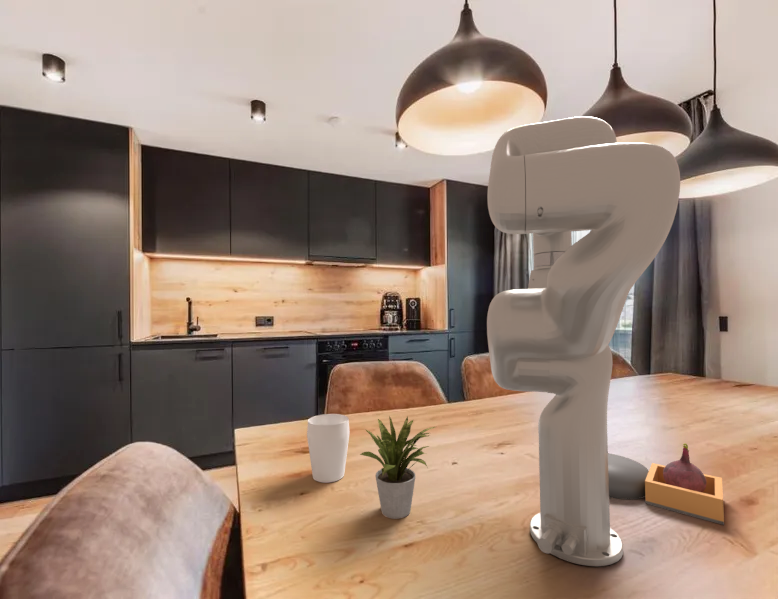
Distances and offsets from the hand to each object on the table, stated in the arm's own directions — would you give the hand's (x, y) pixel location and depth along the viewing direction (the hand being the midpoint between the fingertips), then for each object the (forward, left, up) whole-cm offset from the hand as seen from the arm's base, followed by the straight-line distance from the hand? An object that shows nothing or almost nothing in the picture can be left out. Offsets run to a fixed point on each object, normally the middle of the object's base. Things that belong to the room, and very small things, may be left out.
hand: (554, 343), depth 78 cm
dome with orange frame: (+5, -13, -28) cm, 31 cm away
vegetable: (+4, -21, -28) cm, 35 cm away
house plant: (-32, +16, -28) cm, 46 cm away
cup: (-30, +37, -28) cm, 56 cm away
